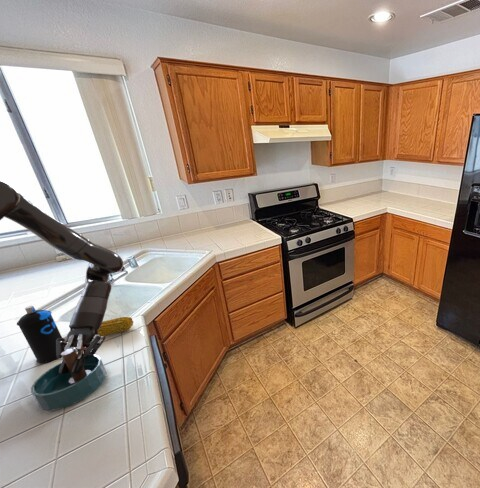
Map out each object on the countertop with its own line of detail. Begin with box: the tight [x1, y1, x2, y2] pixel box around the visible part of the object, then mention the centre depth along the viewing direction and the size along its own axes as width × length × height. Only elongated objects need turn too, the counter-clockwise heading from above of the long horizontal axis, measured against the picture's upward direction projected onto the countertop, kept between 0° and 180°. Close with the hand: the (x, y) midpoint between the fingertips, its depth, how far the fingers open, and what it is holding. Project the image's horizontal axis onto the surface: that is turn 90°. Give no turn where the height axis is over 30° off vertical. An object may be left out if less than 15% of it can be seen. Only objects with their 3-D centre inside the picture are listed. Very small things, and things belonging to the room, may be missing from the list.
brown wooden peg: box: [61, 347, 91, 386], centre depth 77 cm, size 5×5×11 cm
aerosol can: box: [16, 305, 63, 364], centre depth 90 cm, size 8×8×20 cm
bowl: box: [30, 353, 108, 411], centre depth 78 cm, size 15×15×6 cm
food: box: [98, 316, 134, 337], centre depth 102 cm, size 21×6×6 cm, turn 109°
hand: (69, 373), depth 76 cm, fingers closed on brown wooden peg, 3 cm apart
